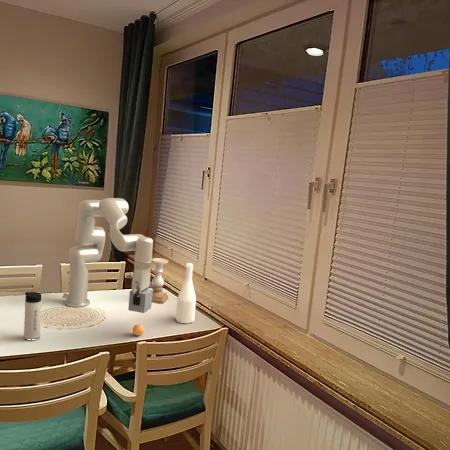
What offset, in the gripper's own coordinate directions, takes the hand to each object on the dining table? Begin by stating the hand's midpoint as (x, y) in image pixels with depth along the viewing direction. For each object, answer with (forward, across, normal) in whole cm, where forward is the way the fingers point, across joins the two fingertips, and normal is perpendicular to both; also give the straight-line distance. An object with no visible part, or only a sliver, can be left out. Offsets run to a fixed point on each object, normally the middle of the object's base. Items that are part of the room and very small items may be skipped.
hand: (140, 302), depth 197 cm
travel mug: (+16, +24, -38) cm, 48 cm away
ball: (+13, 0, 0) cm, 13 cm away
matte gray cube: (+3, 0, 0) cm, 3 cm away
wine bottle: (+16, -28, +13) cm, 35 cm away
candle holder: (+16, -52, -13) cm, 56 cm away
